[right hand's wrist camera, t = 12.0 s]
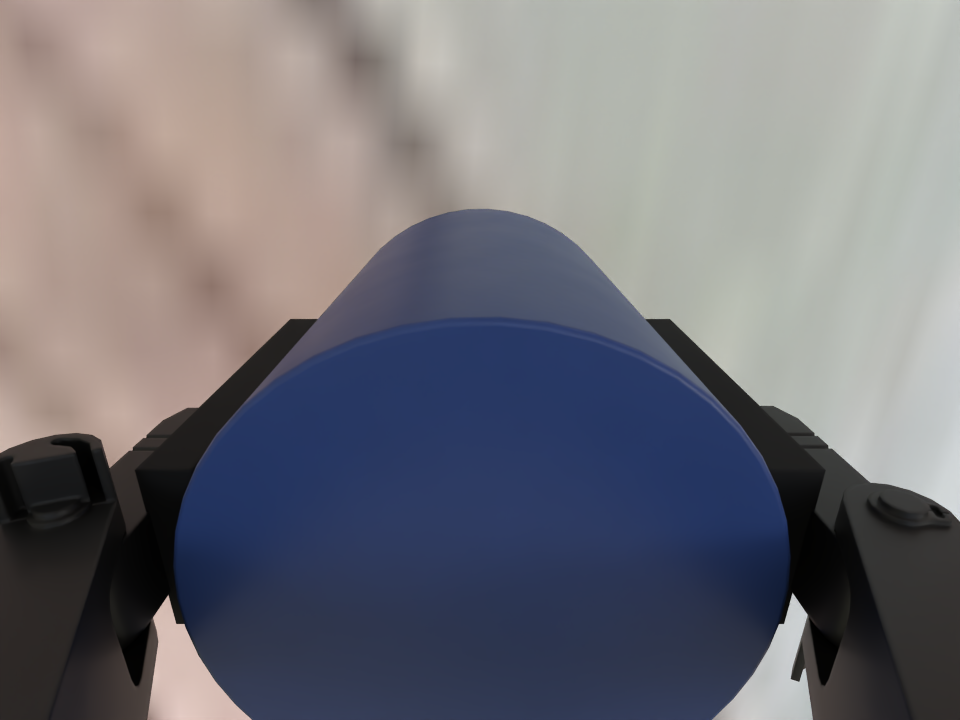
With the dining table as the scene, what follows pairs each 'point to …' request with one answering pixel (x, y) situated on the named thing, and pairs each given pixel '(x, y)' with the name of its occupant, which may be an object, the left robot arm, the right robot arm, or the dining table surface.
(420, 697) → the cylinder
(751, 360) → the dining table surface
